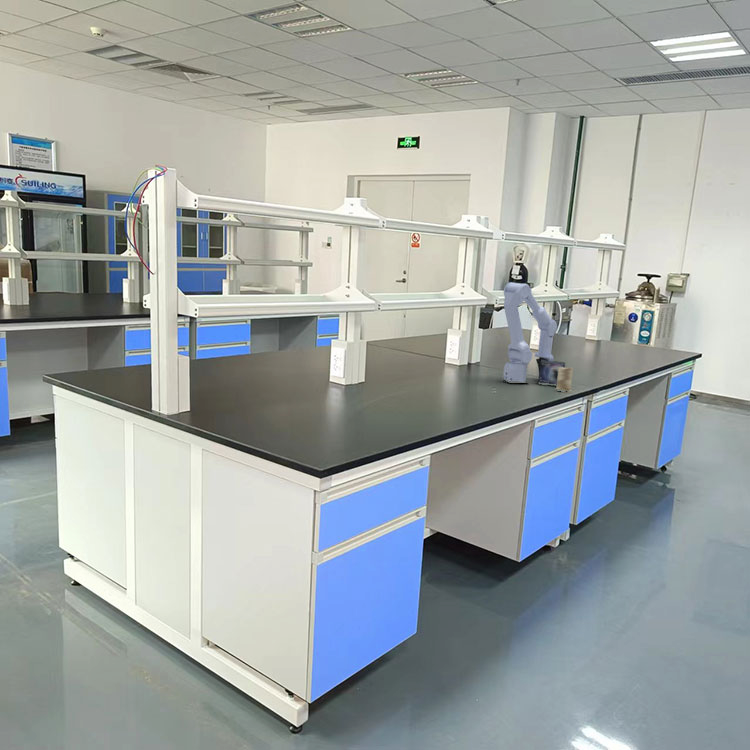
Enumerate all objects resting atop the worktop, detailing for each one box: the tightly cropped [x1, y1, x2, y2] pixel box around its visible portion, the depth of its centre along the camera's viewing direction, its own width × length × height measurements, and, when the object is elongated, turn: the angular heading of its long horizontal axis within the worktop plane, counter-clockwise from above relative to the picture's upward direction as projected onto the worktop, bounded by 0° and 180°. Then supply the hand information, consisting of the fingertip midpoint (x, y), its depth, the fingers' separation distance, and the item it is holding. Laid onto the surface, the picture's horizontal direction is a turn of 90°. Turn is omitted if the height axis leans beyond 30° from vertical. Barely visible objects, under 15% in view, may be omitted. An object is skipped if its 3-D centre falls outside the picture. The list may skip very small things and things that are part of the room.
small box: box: [537, 360, 566, 385], centre depth 287 cm, size 11×6×10 cm, turn 73°
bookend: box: [555, 367, 574, 392], centre depth 274 cm, size 6×3×10 cm, turn 103°
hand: (541, 374), depth 295 cm, fingers closed
